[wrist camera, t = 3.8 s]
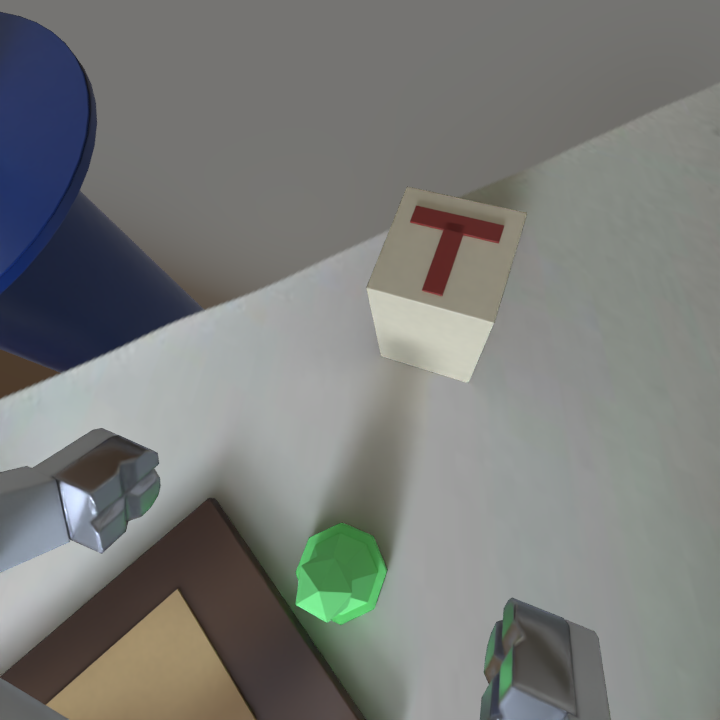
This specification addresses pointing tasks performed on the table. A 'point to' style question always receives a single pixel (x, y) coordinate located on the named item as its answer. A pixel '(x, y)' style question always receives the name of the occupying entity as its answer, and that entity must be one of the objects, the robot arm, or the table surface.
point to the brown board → (186, 641)
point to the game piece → (340, 574)
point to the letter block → (442, 280)
